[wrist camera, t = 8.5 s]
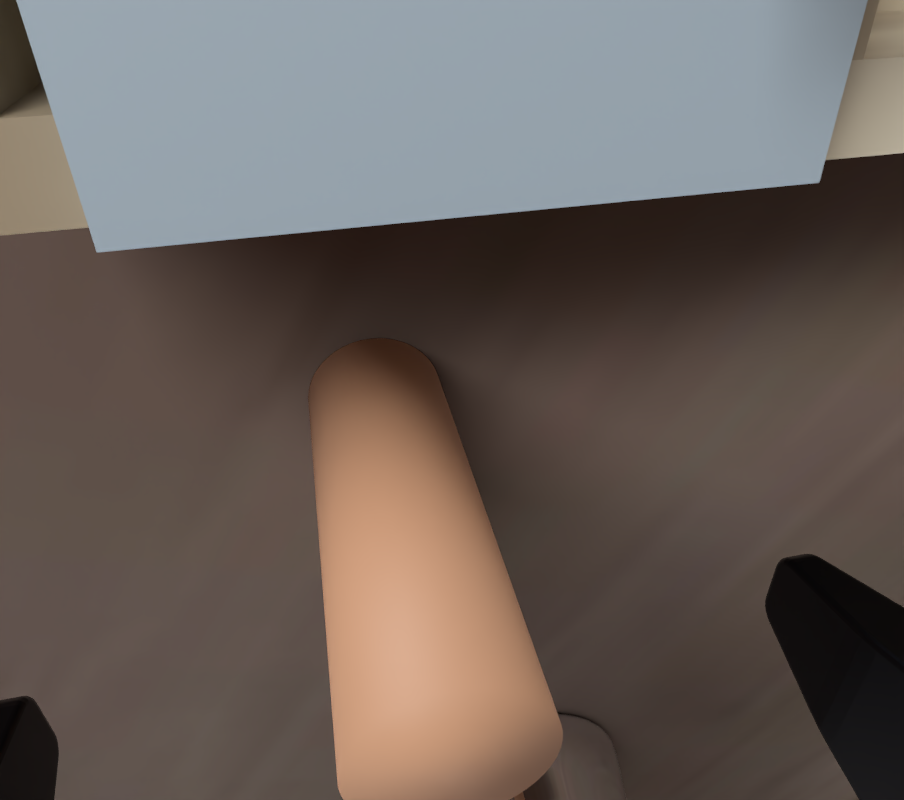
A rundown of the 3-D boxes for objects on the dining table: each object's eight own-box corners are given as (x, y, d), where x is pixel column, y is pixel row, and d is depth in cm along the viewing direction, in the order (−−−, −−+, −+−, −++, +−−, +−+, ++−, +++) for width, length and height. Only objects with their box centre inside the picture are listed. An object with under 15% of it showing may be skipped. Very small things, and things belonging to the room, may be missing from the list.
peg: (437, 330, 13) (570, 670, 7) (441, 439, 14) (556, 798, 8) (299, 347, 12) (322, 720, 7) (317, 457, 14) (349, 842, 8)
